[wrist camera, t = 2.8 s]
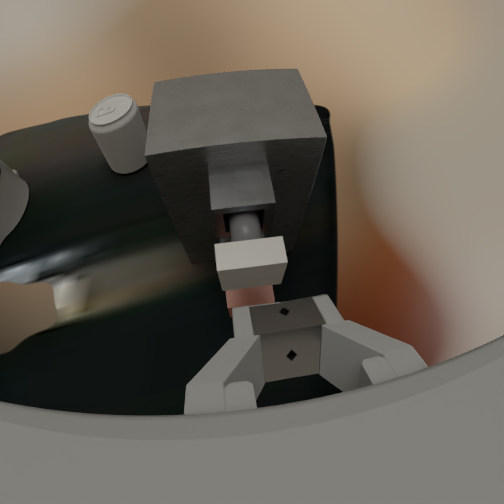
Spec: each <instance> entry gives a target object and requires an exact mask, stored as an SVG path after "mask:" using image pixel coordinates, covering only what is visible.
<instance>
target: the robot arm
mask: <svg viewBox="0 0 504 504" xmlns="http://www.w3.org/2000/svg"><path fill="white" fill-rule="evenodd" d="M28 198H29V188H28V185H27V183H26V182H25V181H24V180H22V179H21V178H20V177H19V174H18V172H17V171H16V170H11V169H10V168H9V167H8V166H7V165H6V164H5V163H4V162H2V161H1V160H0V245H1V243H2V241H3V240H4V238H5V237H6V236H7V235H8V234H9V233H10V232H11V231H12V230H13V229H14V228H15V226H16V225H17V224H18V222H19V221H20V219H21V217H22V215H23V213H24V211H25V209H26V206H27V202H28ZM232 316H233V327H234V338H231V339H229V340H228V341H227V342H226V343H225V345H224V346H223V347H222V348H221V349H220V350H219V351H218V352H217V353H216V354H215V355H214V356H213V358H212V359H211V360H210V361H209V362H208V363H207V364H206V365H205V366H204V367H203V368H202V369H201V370H200V372H199V373H198V374H197V375H196V376H195V377H194V378H193V379H192V380H191V381H190V382H189V383H188V384H187V385H186V396H185V408H184V415H165V416H128V415H103V414H87V413H75V412H65V411H57V410H49V409H41V408H35V407H28V406H22V405H17V404H11V403H6V402H1V401H0V504H504V335H503V336H501V337H499V338H497V339H495V340H493V341H491V342H489V343H486V344H484V345H482V346H480V347H478V348H475V349H473V350H471V351H469V352H466V353H463V354H461V355H459V356H456V357H454V358H451V359H449V360H446V361H444V362H441V363H438V364H435V365H433V366H430V367H428V366H427V365H426V363H425V362H424V361H423V360H422V358H421V357H420V356H419V354H418V353H417V352H416V351H415V349H414V348H413V347H412V346H411V345H409V344H406V343H404V342H401V341H399V340H396V339H393V338H391V337H389V336H386V335H383V334H381V333H379V332H376V331H374V330H371V329H369V328H367V327H364V326H362V325H359V324H356V323H354V322H352V321H350V320H347V321H344V320H343V318H342V316H341V315H340V313H339V312H338V310H337V309H336V307H335V306H334V304H333V303H332V301H331V299H330V298H329V296H328V295H326V294H325V295H320V296H315V297H309V298H304V299H298V300H292V301H286V302H277V303H268V304H260V305H251V306H241V307H234V308H232ZM317 373H319V374H320V375H321V376H322V377H324V378H325V379H326V380H328V381H329V382H331V383H332V384H333V385H335V386H336V387H337V388H339V389H340V390H342V391H343V392H342V393H338V394H334V395H329V396H325V397H320V398H315V399H310V400H305V401H299V402H294V403H288V404H282V405H276V406H269V407H262V408H257V405H256V399H257V397H258V395H259V394H260V392H261V390H262V388H263V386H264V384H265V382H270V381H276V380H281V379H287V378H292V377H299V376H305V375H311V374H317Z"/></svg>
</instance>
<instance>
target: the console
mask: <svg viewBox="0 0 504 504" xmlns="http://www.w3.org/2000/svg"><path fill="white" fill-rule="evenodd" d="M326 139H327V136H326V133H325V131H324V128H323V126H322V123H321V121H320V118H319V116H318V114H317V111H316V109H315V107H314V104H313V102H312V100H311V98H310V95H309V93H308V91H307V88H306V86H305V84H304V82H303V80H302V78H301V75H300V73H299V71H298V69H266V70H249V71H235V72H223V73H214V74H206V75H199V76H191V77H183V78H177V79H171V80H165V81H160V82H155V83H154V87H153V94H152V100H151V107H150V114H149V122H148V130H147V138H146V147H145V158H146V161H147V163H148V165H149V168H150V170H151V173H152V175H153V178H154V180H155V182H156V185H157V187H158V190H159V192H160V194H161V197H162V199H163V201H164V204H165V206H166V208H167V211H168V213H169V215H170V217H171V220H172V222H173V224H174V227H175V229H176V231H177V233H178V235H179V238H180V240H181V242H182V244H183V247H184V249H185V251H186V253H187V255H188V257H189V260H190V262H191V263H195V262H203V261H212V260H216V256H215V245H214V244H219V243H228V242H231V234H230V225H229V216H228V213H235V212H244V211H253V210H257V211H258V217H259V223H260V229H261V235H262V238H270V237H278V236H283V241H284V246H285V251H293V248H294V245H295V242H296V239H297V236H298V233H299V230H300V226H301V223H302V220H303V217H304V213H305V210H306V207H307V204H308V200H309V197H310V194H311V191H312V187H313V184H314V180H315V177H316V174H317V170H318V167H319V163H320V160H321V157H322V153H323V150H324V146H325V143H326Z"/></svg>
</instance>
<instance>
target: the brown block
mask: <svg viewBox="0 0 504 504" xmlns="http://www.w3.org/2000/svg"><path fill="white" fill-rule="evenodd" d="M226 298H227V307H228V311H229V314H230V317H233V316H232V308H234V307H241V306H251V305H260V304H268V303H275V299H274V293H273V287H272V285H267V286H259V287H251V288H243V289H235V290H227V291H226Z"/></svg>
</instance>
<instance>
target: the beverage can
mask: <svg viewBox="0 0 504 504" xmlns="http://www.w3.org/2000/svg"><path fill="white" fill-rule="evenodd" d="M89 128H90V130H91V132H92V134H93V136H94V138H95V140H96V141H97V143H98V145H99V147H100V149H101V151H102V153H103V155H104V156H105V158H106V160H107V162H108V164H109V166H110V167H111V169H112V170H113V171H115V172H117V173H120V174H127V173H131V172H134V171H137V170H138V169H140V168H142V167H143V166H144V165H145V164H146V163H147V161H146V158H145V147H146V138H147V132H146V129H145V126H144V123H143V120H142V117H141V114H140V111H139V108H138V105H137V103H136V102H135V101H134V100H133V99H132V98H131V97H130V96H129V95H127V94H114V95H111V96H108V97H106V98H104V99H102V100H101V101H99V102H98V103H97V104H96V105H95V106H94V107H93V108H92V109H91V111H90V113H89Z"/></svg>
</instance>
